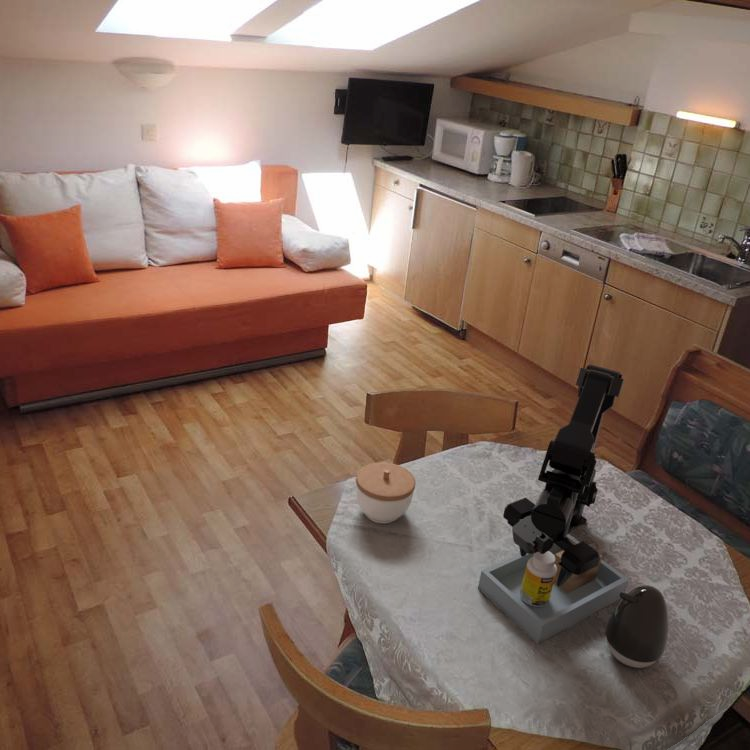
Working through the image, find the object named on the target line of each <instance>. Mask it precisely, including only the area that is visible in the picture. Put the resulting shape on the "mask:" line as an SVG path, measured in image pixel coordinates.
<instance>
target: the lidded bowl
mask: <svg viewBox="0 0 750 750" xmlns="http://www.w3.org/2000/svg"><path fill="white" fill-rule="evenodd" d="M415 489H416V479H415V477H414V475H413V474H412V472H410V470H408V469H407V468H405V467H403V466H401V465H399V464H397V463H392V462H385V461H381V462H372V463H369V464H366V465H364V466H363V467H360V468H359V470H358V471H357V473H356V477H355V497H356V502H357V504H358V507H359V509H360V510H361V511H362V513H363V514H364V515H365V516H366V517H367V519H369V521H372V522H374V523H377V524H391V523H392V522H395V521H396V520H397V519H400V518H401V517H402V516H403V515H404V514H405V513H406V512H407V511H408V510H409V507H410V506H411V503H412V501H413V496H414V492H415Z"/></svg>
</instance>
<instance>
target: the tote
mask: <svg viewBox="0 0 750 750" xmlns="http://www.w3.org/2000/svg"><path fill="white" fill-rule="evenodd" d="M567 538H568V539H570V540H571V541H572V542H574V543H575V544H578V543H580V542H581V541H579V540H578V539H576V538H575V537H574V536H572V535H571V533H570V534H568V535H567ZM548 551H549V552H551V553H552V554H553V555H554V556H555V554H556V553H559V552H561V551H563V550H562V549H561V548H560V547H559V546H557V545H556V544H555V543H553V547H552V548H551V549H550V550H548ZM533 556H534V553H533V554H528V553H527V554H526V555H525V556H523V557H522V556H521V554H520V553H518V554H516V555H513V556H511V557H509V558H507V559H504V560H502V561H500V562H497V563H496V564H493V565H491V566H488V567H486V568H483V569H482V570H480V571H481V572H480V576H479V582H478V585H477V590H479V591H480V592H481V593H482V594H483V595H484V596H485V597H486V596H487V597H486V598H487V599H488V598H489V599H490V600H489V599H488V600H489V601H490V602H492V604H494V605H495V607H497V608H498V610H500V609H501V610H500V611H501V612H502V611H503V612H504V613H505V614H506V615H505V614H504V613H503V612H502V613H503V614H504V615H505V616H507V618H509V619H510V620H511V621H512V622H513V623H514V624H515V625H516V626H517V627H518V628H519V629H520V630H522V631H523V632H524V633H525V634H526V635H527V637H528V638H530V639H531V640H532V641H533V642H534V643H535V644H536V645H539V644H541V643H543V642H544V641H546V640H548V639H550V638H552V637H553V636H554V637H555V635H557V634H559V633H561V632H563V631H564V630H566V629H568V628H570V627H572V626H573V625H575V624H577V623H579V622H580V621H582V620H585V619H586V618H588V617H590V616H592V615H593V614H596V613H597V612H599V611H601V610H603V609H604V608H607V607H608V606H610V605H612V604H614V603H615V602H617V601H619V600H622V598H620V596H619V594H620V593H621V592H625V593H626V590H627V586H628V583H629V581H630V579H629V578H627V577H626V575H624V574H622V573H621V572H620V571H618V570H617V569H615V568H614V567H613V566H611V565H610V564H609V563H607V562H606V561H605V560H604V559H603V558H602V559H601V562H600V566H599V569H598V572H597V576H596V579H595V580H593V581H591V582H589V583H587V584H586V585H584V586H582V587H580V588H578V589H576V590H574V591H572V592H570V593H567V592H566V591H565V590H563V589H562V588H561V587H560V586H559V587H558V586H557V584H556V583H555V582H554V584H553V588H552V591H551V595H550V599H549V602H548V603H547V604H546V605H545V606H543V607H533V606H530V605H528V604H527V603H525V602H524V601H523V600H522V598H521V596H520V590H521V586H522V582H523V578H524V574H525V570H526V566H527V562H528V560H529V559H530V558H531V557H533Z"/></svg>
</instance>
